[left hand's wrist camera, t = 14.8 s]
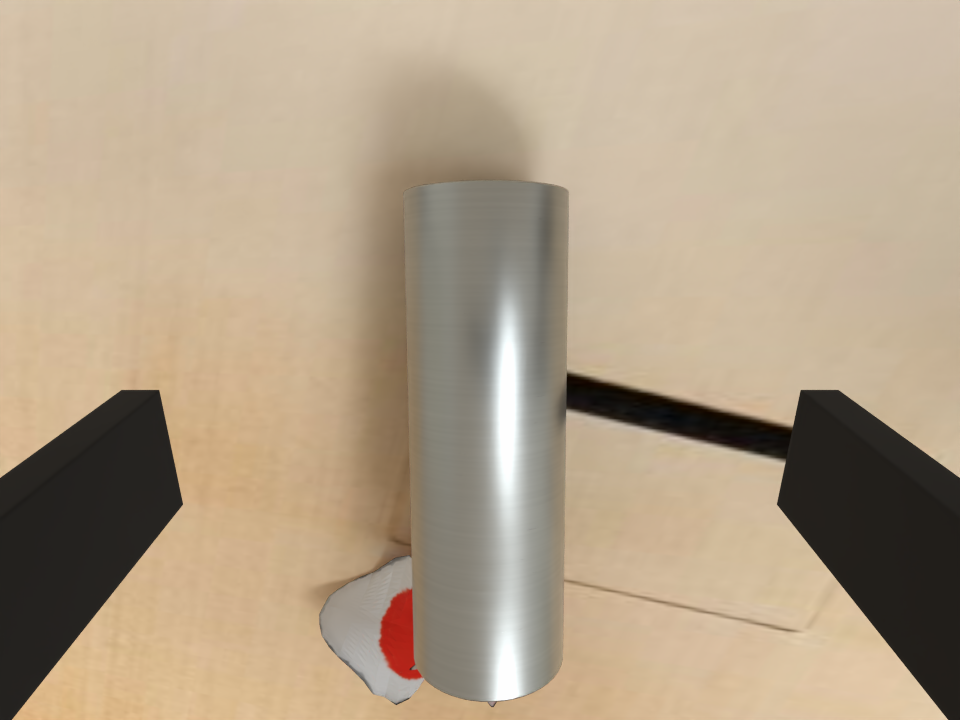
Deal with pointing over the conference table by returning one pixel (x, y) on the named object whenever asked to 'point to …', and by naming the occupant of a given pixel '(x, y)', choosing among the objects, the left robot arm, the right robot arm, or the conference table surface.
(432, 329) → the rod
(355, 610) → the fish
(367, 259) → the conference table surface
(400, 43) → the conference table surface
